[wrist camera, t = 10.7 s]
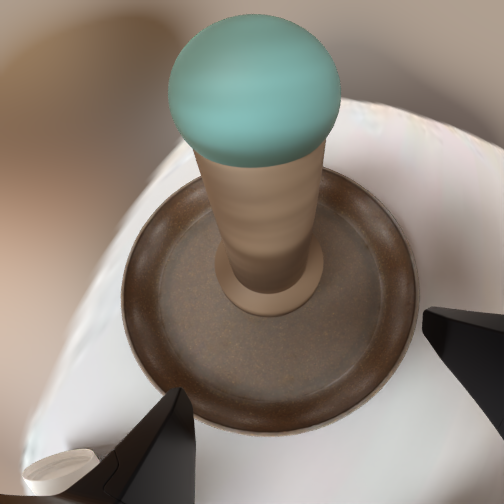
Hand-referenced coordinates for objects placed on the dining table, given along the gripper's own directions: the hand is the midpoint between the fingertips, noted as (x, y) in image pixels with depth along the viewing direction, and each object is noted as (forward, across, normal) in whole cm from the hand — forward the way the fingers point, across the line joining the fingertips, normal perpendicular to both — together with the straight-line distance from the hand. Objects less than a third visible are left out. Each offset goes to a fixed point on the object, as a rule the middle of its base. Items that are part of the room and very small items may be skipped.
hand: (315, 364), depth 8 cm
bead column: (+9, 0, -1) cm, 9 cm away
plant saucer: (+12, 0, +2) cm, 12 cm away
